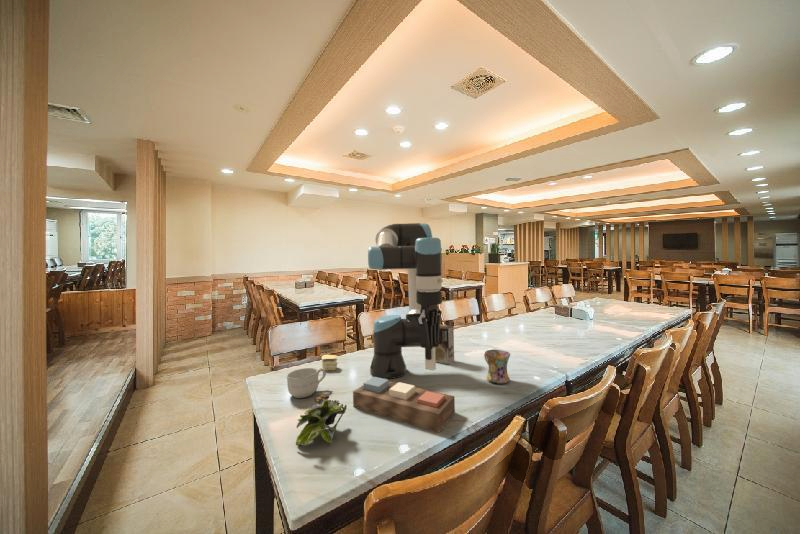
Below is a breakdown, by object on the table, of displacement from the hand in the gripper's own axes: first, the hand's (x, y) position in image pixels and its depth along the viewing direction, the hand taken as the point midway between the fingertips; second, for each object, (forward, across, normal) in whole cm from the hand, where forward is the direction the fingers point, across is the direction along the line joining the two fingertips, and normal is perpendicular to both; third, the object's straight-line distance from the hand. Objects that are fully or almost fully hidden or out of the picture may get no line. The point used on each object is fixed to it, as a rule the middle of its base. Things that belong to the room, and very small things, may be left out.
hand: (430, 368), depth 89 cm
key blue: (+12, 0, +20) cm, 23 cm away
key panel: (+15, 0, +10) cm, 18 cm away
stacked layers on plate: (+16, +15, +56) cm, 61 cm away
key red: (+12, 0, 0) cm, 12 cm away
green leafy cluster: (+15, -24, +21) cm, 35 cm away
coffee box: (+16, +46, +16) cm, 51 cm away
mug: (+15, +36, -10) cm, 41 cm away
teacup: (+15, -6, +46) cm, 49 cm away
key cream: (+12, 0, +10) cm, 15 cm away
